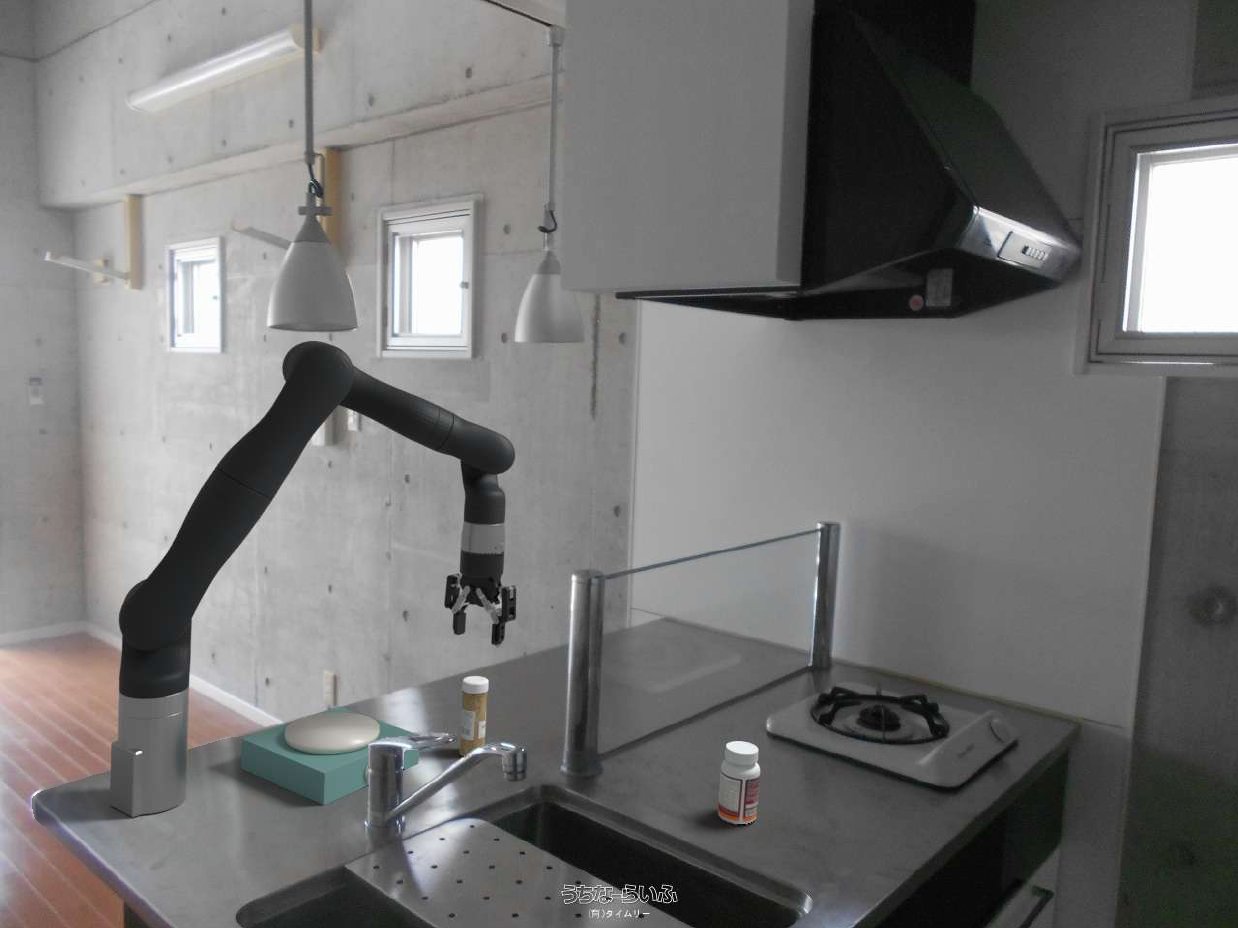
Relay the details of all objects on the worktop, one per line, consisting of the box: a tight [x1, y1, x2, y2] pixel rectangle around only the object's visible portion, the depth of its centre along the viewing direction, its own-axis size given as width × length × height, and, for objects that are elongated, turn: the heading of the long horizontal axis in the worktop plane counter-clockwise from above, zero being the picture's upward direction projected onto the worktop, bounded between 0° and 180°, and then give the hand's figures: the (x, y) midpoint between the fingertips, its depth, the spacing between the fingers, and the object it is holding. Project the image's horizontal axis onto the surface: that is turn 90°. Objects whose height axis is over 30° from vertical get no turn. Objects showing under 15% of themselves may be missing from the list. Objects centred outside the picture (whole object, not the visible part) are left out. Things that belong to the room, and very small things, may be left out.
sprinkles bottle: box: [458, 675, 490, 757], centre depth 159 cm, size 5×5×13 cm
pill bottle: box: [717, 740, 761, 825], centre depth 142 cm, size 6×6×11 cm
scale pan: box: [285, 712, 380, 754], centre depth 150 cm, size 15×15×1 cm
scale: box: [240, 705, 421, 806], centre depth 150 cm, size 20×20×5 cm
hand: (477, 639), depth 157 cm, fingers open, 8 cm apart
